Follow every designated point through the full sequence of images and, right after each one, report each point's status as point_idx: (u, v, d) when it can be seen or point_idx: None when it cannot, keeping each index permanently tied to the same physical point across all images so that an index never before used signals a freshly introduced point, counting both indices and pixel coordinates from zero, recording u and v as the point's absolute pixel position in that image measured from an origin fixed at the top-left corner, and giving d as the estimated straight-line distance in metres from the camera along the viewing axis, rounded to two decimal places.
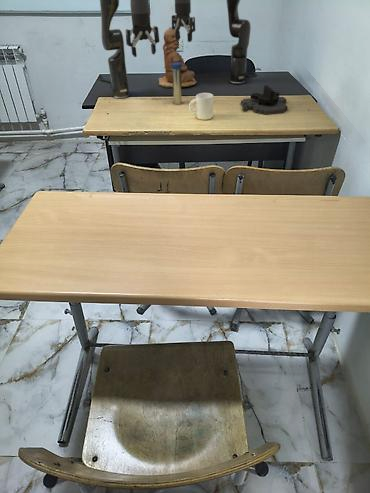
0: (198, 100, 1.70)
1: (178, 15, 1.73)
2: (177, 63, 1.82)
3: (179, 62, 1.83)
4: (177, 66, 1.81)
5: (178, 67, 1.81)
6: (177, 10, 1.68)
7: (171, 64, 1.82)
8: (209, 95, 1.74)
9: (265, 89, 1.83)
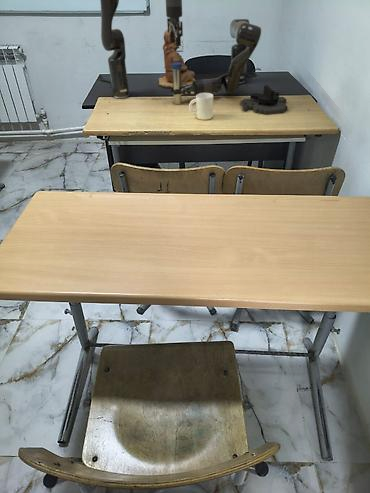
0: (198, 100, 1.70)
1: None
2: (177, 63, 1.82)
3: (179, 62, 1.83)
4: (177, 66, 1.81)
5: (178, 67, 1.81)
6: None
7: (171, 64, 1.82)
8: (209, 95, 1.74)
9: (265, 89, 1.83)
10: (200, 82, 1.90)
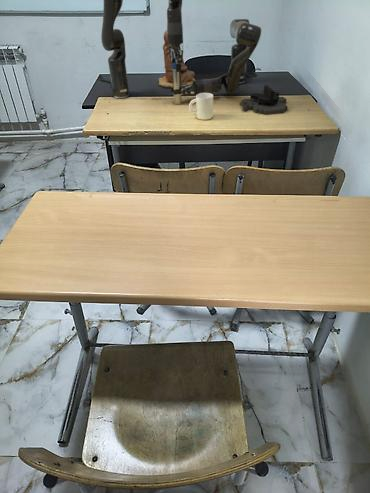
0: (198, 100, 1.70)
1: None
2: None
3: None
4: None
5: None
6: None
7: (171, 64, 1.82)
8: (209, 95, 1.74)
9: (265, 89, 1.83)
10: (200, 82, 1.90)
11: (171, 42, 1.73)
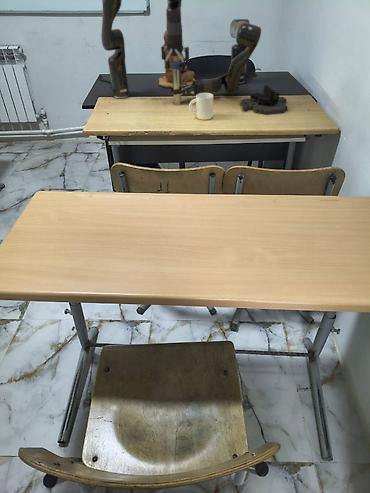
0: (198, 100, 1.70)
1: None
2: (176, 62, 1.82)
3: None
4: (181, 64, 1.83)
5: None
6: None
7: (176, 64, 1.80)
8: (209, 95, 1.74)
9: (265, 89, 1.83)
10: (200, 82, 1.90)
11: (177, 42, 1.72)
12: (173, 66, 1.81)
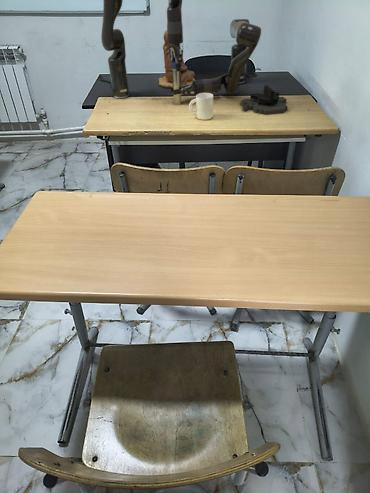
0: (198, 100, 1.70)
1: None
2: None
3: None
4: None
5: (181, 65, 1.83)
6: None
7: None
8: (209, 95, 1.74)
9: (265, 89, 1.83)
10: (200, 82, 1.90)
11: (171, 41, 1.73)
12: (173, 66, 1.81)
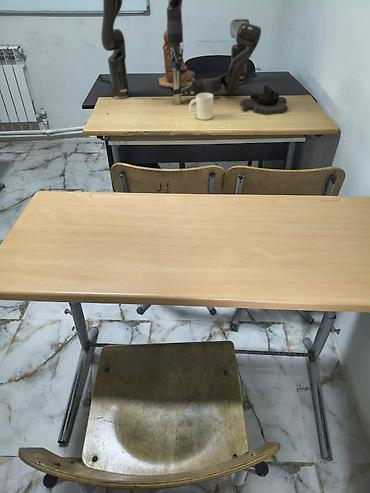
0: (198, 100, 1.70)
1: None
2: (175, 62, 1.82)
3: (171, 62, 1.81)
4: None
5: None
6: None
7: None
8: (209, 95, 1.74)
9: (265, 89, 1.83)
10: (200, 82, 1.90)
11: (171, 41, 1.73)
12: None
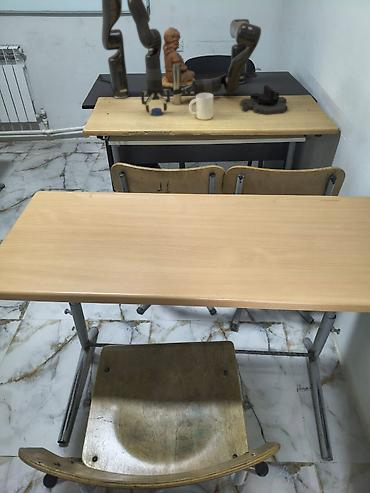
0: (198, 100, 1.70)
1: None
2: (155, 109, 1.81)
3: (156, 111, 1.80)
4: None
5: None
6: None
7: (158, 108, 1.84)
8: (209, 95, 1.74)
9: (265, 89, 1.83)
10: (200, 82, 1.90)
11: (160, 86, 1.72)
12: None
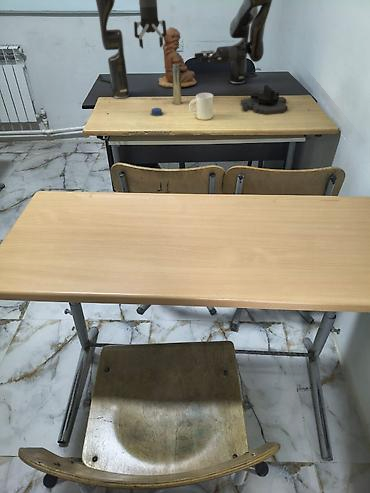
0: (198, 100, 1.70)
1: None
2: (155, 109, 1.81)
3: (156, 111, 1.80)
4: None
5: None
6: None
7: (158, 108, 1.84)
8: (209, 95, 1.74)
9: (265, 89, 1.83)
10: (225, 48, 1.84)
11: (155, 15, 1.54)
12: None
